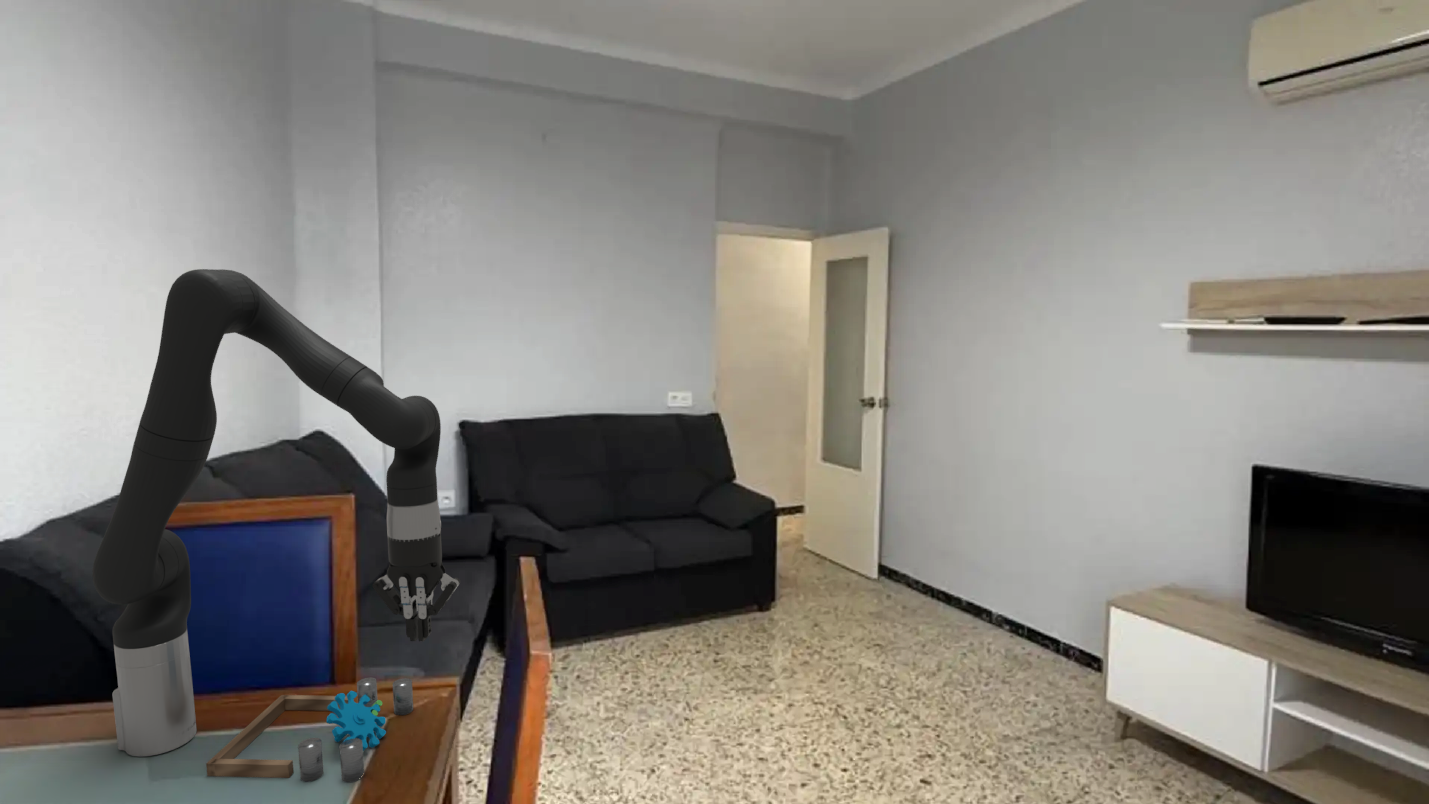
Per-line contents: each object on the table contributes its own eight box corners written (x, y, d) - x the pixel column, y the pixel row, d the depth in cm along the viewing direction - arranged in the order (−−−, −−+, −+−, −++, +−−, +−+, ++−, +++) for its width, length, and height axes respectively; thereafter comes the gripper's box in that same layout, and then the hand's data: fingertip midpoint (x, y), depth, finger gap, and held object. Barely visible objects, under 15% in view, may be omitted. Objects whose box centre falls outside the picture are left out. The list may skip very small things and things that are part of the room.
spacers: (296, 781, 114) (293, 749, 113) (363, 705, 135) (361, 677, 134) (358, 782, 114) (356, 750, 113) (416, 706, 134) (414, 678, 134)
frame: (207, 776, 115) (206, 763, 115) (282, 706, 134) (281, 694, 134) (289, 777, 115) (288, 765, 114) (352, 707, 134) (351, 696, 134)
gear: (358, 756, 117) (319, 702, 119) (333, 779, 118) (294, 726, 120) (404, 726, 128) (367, 677, 130) (380, 748, 129) (344, 699, 131)
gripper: (358, 537, 115) (364, 649, 118) (449, 538, 115) (454, 651, 118) (380, 521, 123) (386, 628, 125) (466, 523, 123) (470, 629, 125)
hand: (419, 639), depth 122 cm, fingers closed
